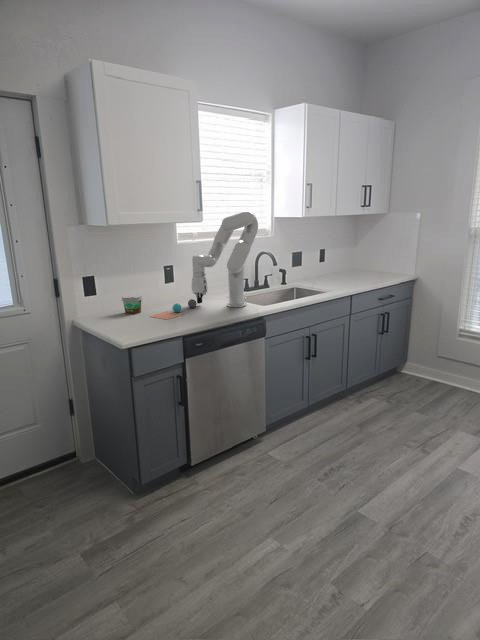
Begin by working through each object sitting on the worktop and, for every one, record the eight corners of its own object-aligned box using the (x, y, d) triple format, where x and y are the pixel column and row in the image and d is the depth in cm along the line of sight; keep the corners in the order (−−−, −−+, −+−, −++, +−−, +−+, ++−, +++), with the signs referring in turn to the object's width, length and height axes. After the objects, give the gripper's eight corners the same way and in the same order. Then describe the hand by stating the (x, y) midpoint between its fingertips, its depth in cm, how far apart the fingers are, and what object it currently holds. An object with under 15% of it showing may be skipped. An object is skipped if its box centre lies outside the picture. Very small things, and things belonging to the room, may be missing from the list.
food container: (120, 315, 258) (119, 298, 255) (123, 312, 264) (121, 296, 261) (141, 314, 258) (140, 298, 256) (143, 312, 264) (142, 296, 261)
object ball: (177, 311, 265) (176, 302, 264) (183, 312, 262) (183, 303, 261) (170, 312, 261) (170, 303, 259) (177, 313, 258) (177, 305, 256)
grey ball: (192, 306, 276) (191, 298, 275) (198, 307, 273) (198, 299, 272) (186, 308, 272) (185, 299, 270) (192, 309, 269) (192, 300, 267)
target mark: (166, 311, 264) (166, 311, 264) (183, 314, 256) (183, 314, 256) (149, 316, 253) (149, 316, 252) (167, 319, 245) (167, 319, 245)
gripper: (211, 275, 272) (212, 303, 277) (194, 273, 281) (195, 300, 285) (203, 276, 266) (204, 305, 271) (186, 274, 275) (187, 302, 280)
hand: (199, 302), depth 278 cm, fingers closed
